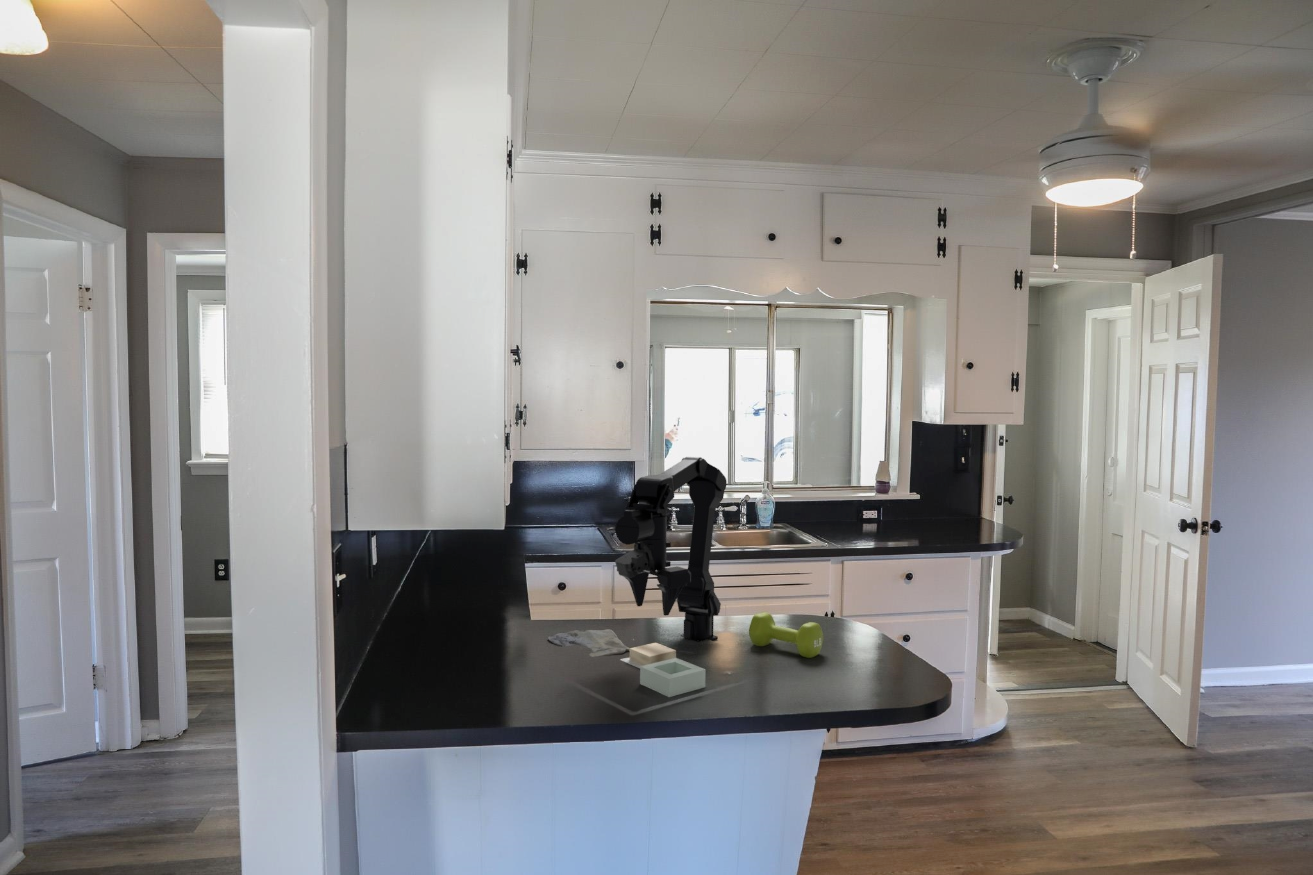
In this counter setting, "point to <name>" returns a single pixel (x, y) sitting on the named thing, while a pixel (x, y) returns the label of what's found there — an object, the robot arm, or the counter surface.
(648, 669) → the dish
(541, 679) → the counter surface
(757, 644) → the dumbbell
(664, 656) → the lid
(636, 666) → the mat
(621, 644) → the crumpled grey cloth
